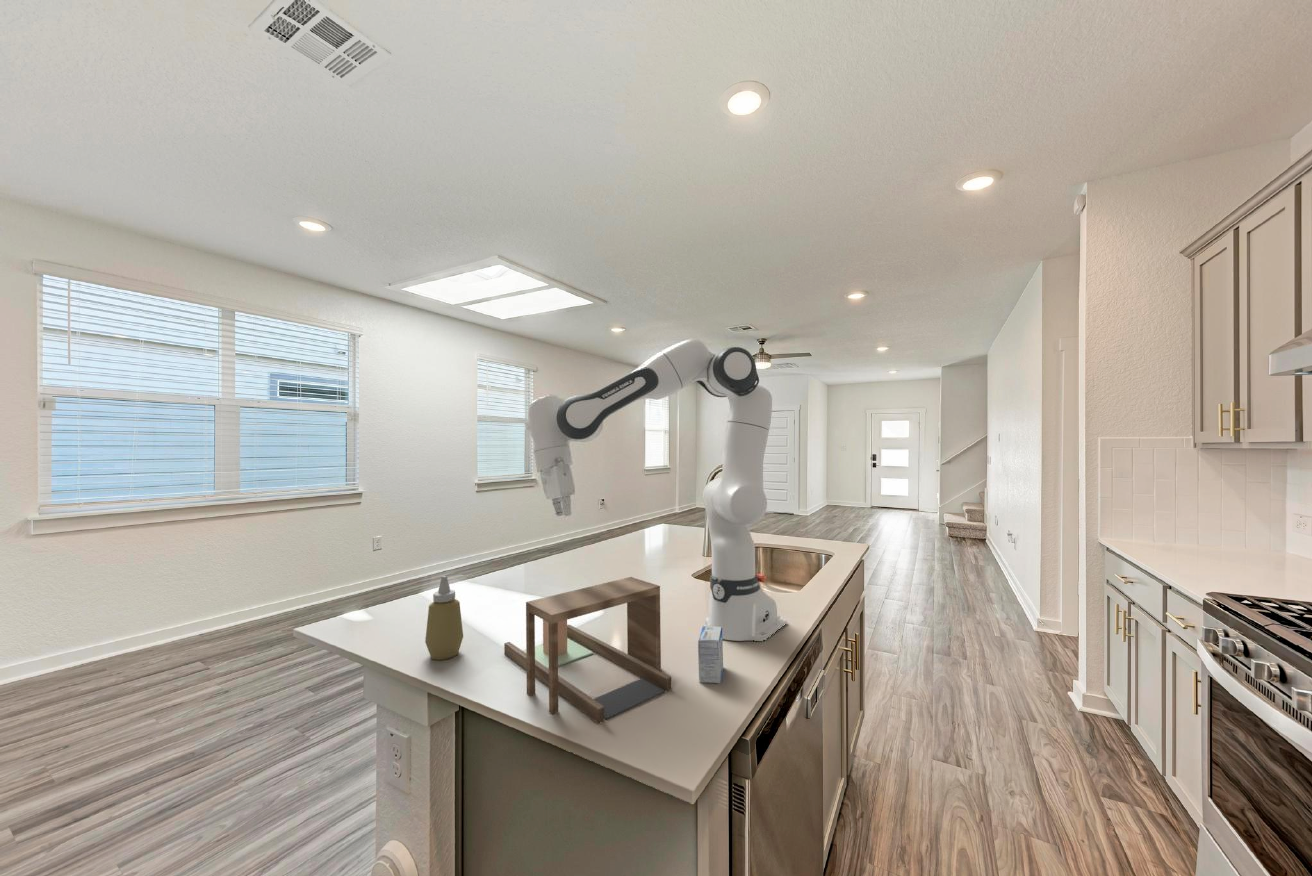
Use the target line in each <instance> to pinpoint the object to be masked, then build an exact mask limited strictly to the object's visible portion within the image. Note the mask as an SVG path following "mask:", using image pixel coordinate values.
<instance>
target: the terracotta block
mask: <svg viewBox="0 0 1312 876" xmlns="http://www.w3.org/2000/svg"><path fill="white" fill-rule="evenodd" d="M567 625H568V620H564V621H561V622H558V655H561V654H564V653H567V638H568V637H567ZM542 644H543V652H544V653H545V654H547V655H548V656H549V630H548V622H547V621H545V620H543V619H542Z"/></svg>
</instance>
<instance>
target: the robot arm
mask: <svg viewBox="0 0 1312 876" xmlns="http://www.w3.org/2000/svg"><path fill="white" fill-rule="evenodd" d="M694 382H697V383H698V384H699V385H700V386H701V387H702V388H703V389H704V390H705V391H706V392H707V393H708V394H710V395H712V396H713V397H716V398H727V399H728V403H729V413H728V417H727V421H726V425H725V429H724V435H723V440H722V443H721V448H720V449H721V450H720V455H721V460H722V470H721V472H722V473H721V477H717V478H714V479H712V480H710V481H709V482H708V483H706V485H705V487H704V488H703V491H702V501H703V504H704V506H705V513H706V520H707V527H708V531H709V537H710V544H711V545H710V548H711V573H710V578H709V587H710V590H711V591H710V592H709V597H708V598H709V599H708V600H709V601H708V610H707V616H706V617H705V623H706V626H716V627H722V639H723V640H726V641H736V642H740V641H741V642H742V641H743V642H744V641H753V640H754V641H756V642H764V641H763V640H765V641H766V640H768V639H769V638H770V637H772V636H773V635H774V634H776V633H777V632H778V631H779V630H778V629H779V628H781V627H782V626H784V624H786V623H787V619H785V618H784V617H783V616H781V615H778V609H777V608H778V606H777V603H776V601H775V600H774V598H773V597H771V596H770V595H768V593H766V592H765V591H764V590H763V589H761V586H760V583H762V584H764V583H765V582H766V581H767V576H766V575H765V574H761V573H758V574H756V547H755V546H756V545H755V542H754V539H753V538H752V534H751V531H750V528H749V525H752V524H755V523H757V522H759V521H760V520H761V519H762V518H763V517H764V515H765V514H766V513H767V512H766V511H767V509H768V499H767V497H766V494H765V490H764V459H765V453H766V450H767V449H766V448H767V443H768V438H769V433H770V428H771V423H772V412H773V411H772V410H773V396H772V394H771V392H770V391H769V389H767V388H766V387H764V386H762V385H760V384H759V383H760V378H759V374H758V372H757V365H756V362H755V359H754V356H753V354H751V352H749V350H747V349H746V348H742V347H739V346H732V347H727V348H724V349H722V350H721V351H720V352H718V353H717V354H715V353H712V352H711V351H709V349H708V347H707V346H706V344H705V343H704V342H703V341H701V340H700V339H698V338H695V337H694V338H687V339H685V340H682V341H679V342H677V343H675V344H671V345H670V346H668V347H666V348H664V349H662V350H660V351H659V352H657V353H655V354H654V355H652V356H651V357H650V358H648V359H646V361H644V362H643V363H641V364H640V365H639V366H638V367H636V368H635V369H633V371H631V372H630V373H628V374H627V375H625V376H623V377H622V378H621V377H620V378H619V379H617V380H615V381H614V382H612V383H610V384H608V385H607V386H605V387H603V388H601V389H598V390H597V391H595V392H591V393H587V394H579V395H573V396H570V397H568V398H566V399H564V398H562V397H560V396H558V395H556V394H548V395H542V396H540V397H538V398H536V399H534V400H533V401H532V402H531V403H530V404H529V407H528V413H527V414H528V425H529V430H530V431H529V432H530V436H531V438H532V440H533V441H532V442H533V455H534V461H535V466H536V472H537V473H539V476H540V481H541V485H542V489H543V491H544V496H545V498H546V499H547V500H551V504H552V506H553V509H554V512H555V513H554V514H555V516H556V517H561V516H563V517H568V516H569V517H570V516H571V515H572V514H573V513H572V507H571V506H572V503H571V502H572V499H571V496H574V495H575V494H576V487H575V481H574V478H573V473H572V468H571V465H573V457H572V454H571V448H570V447H571V446H570V442H580V443H587V442H591V441H593V440H594V439H596V438H597V437H598V436H599V435H600V433H601V432H602V430H603V425H604V424H603V422H604V420H605V419H607V418H608V417H610V416H611V415H613V414H614V413H616V412H618V411H621V409H624V408H625V407H627V406H629V405H631V404H633V403H635V402H636V401H641V400H661V399H664V398H667V397H669V396H671V395H673V394H675V393H677V392H679V391H681V390H682V389H684V388H685V387H688V386H689V385H691V384H692V383H694ZM759 582H760V583H759ZM787 624H788V623H787ZM787 624H786V625H787ZM784 627H785V626H784ZM782 628H783V627H782ZM782 628H781V629H782ZM777 630H778V631H777ZM776 631H777V632H776ZM775 632H776V633H775ZM773 633H774V634H773ZM772 634H773V635H772ZM771 635H772V636H771ZM768 637H769V638H768ZM767 638H768V639H767Z"/></svg>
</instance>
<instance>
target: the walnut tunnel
mask: <svg viewBox="0 0 1312 876" xmlns="http://www.w3.org/2000/svg"><path fill="white" fill-rule="evenodd" d="M624 604H626V613H627V615H626V617H627V620H626V622H627V623H626V624H627V625H626V629H627V634H626V635H627V653H626V652H625V651H622V650H620V649H618V648H616V647H614V646H612V645H610V644H608V643H606V642H604V641H602V640H600V639H599V638H597V637H595V636H593V635H591V634H589V633H587V632H585V631H583V630H581V629H580V628H577V627H575V626H573V625H571V624H567V638H568V639H570V640H572V641H574V642H576V643H577V644H579V645H581V646H583V647H585V648H587V649H588V650H590V651H592V652H593V653H596V654H598V655H600V656H602V657H603V658H606V659H607V660H609V661H611V662H613V663H614V664H616V665H618V666H620V667H621V668H624V669H625V670H627V671H629V672H630V673H632V674H634V675H636V676H638V677H640V679H641V678H643V679H645V680H647V681H649V682H650V683H652V684H654V685H656V686H658V687H660V688H661V689H663V690H665V692H669V691H671V690H672V676H671V675H669V674H667V673H665V672H663V671H662V670H661V669H662V657H661V656H662V655H661V654H662V648H661V644H662V643H661V641H662V639H661V638H662V637H661V634H662V633H661V585H658V584H656V583H655V584H654V583H651V582H649V581H645V580H641V579H638V578H635V577H633V576H629V577H624V578H620V579H617V580H612V581H608V582H604V583H601V584H600V583H599V584H595V585H592V586H588V587H584V588H579V589H575V590H570V591H566V592H561V593H558V594H554V595H549V596H545V597H541V598H537V599H533V600H529V601H528V600H527V601H526V602H525V626H526V627H525V631H526V633H525V636H526V637H525V641H526V642H525V644H526V646H525V647H526V649H525V650H526V653H525V652H524V651H523V650H522V649H521V648H519V647H518V646H517V645H515V644H513V643H512V642H510V641H508V642H504V646H503V647H504V648H503V650H504V656H506V657H508V658H509V659H510V660H511V661H513V662H514V663H516V664H517V665H518V666H520V667H521V668H522V669H524V670H525V671H526V694H527V695H529V696H532V695H535V694H536V679H537V680H539V681H540V682H542V683H543V684H544V685H545V686H547V687H548V712H549V713H550V712H551V713H550V714H551V715H554V714H557V713H559V696H560V697H562V698H563V699H564V700H566V701H567V702H569V703H570V704H571V705H572V706H574V707H575V706H576V707H575V708H576V709H578V710H580V711H581V712H582V713H583V714H585V715H586V716H588V717H589V718H590V719H592V721H594V722H596V723H597V724H601V723H603V722H605V719H604V706H603V705H601V704H600V703H598V702H597V701H595V700H594V698H592V697H591V696H590V695H588V694H587V693H585V692H584V691H582V690H581V689H579V688H578V687H576V686H575V685H573V684H572V683H571V682H569V681H567V680H566V679H565V678H563V677H562V676H560V675H559V666H558V622H561V621H564V620H567V621H568V620H572V619H576V618H578V617H581V616H586V615H588V614H592V613H596V612H600V611H604V610H606V609H610V608H614V607H617V606H621V605H624ZM535 617H538V618H540V619H542V621H543V620H545V621H547V622H548V630H549V668H547V667H546V666H544V665H543V664H541V663H540V662H538V661H537V660H535V647H536V638H535V637H536V635H535V634H536V625H535V623H536V621H535ZM600 722H601V723H600Z"/></svg>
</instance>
